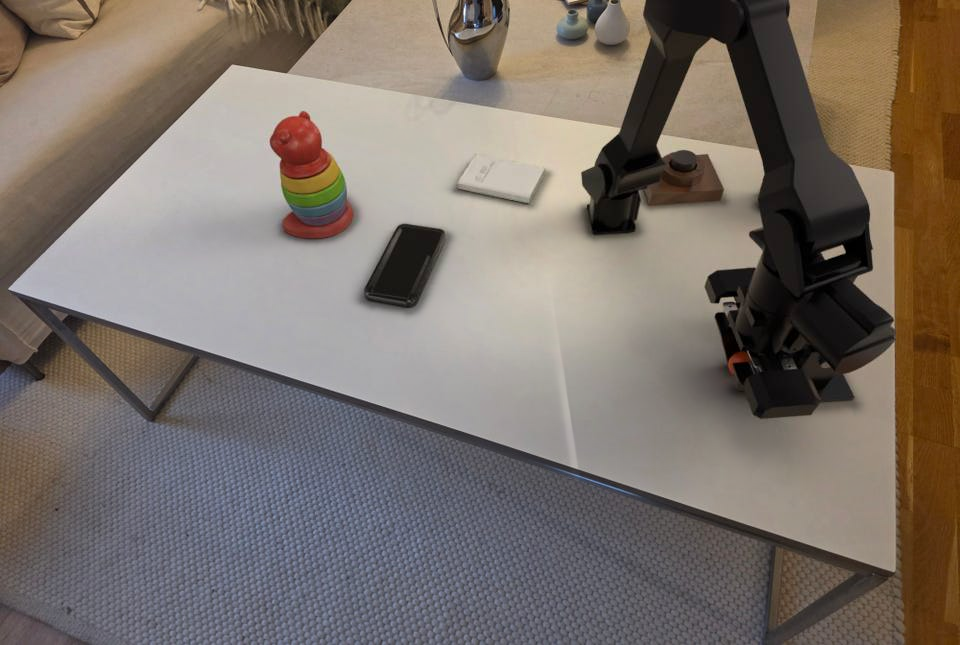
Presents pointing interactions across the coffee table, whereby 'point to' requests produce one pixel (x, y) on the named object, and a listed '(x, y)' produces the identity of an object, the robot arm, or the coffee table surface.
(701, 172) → the button block
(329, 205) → the stacking bear
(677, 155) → the button
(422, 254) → the phone
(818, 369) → the switch bracket
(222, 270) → the coffee table surface
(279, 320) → the coffee table surface
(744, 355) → the switch lever
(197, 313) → the coffee table surface
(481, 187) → the hard drive
